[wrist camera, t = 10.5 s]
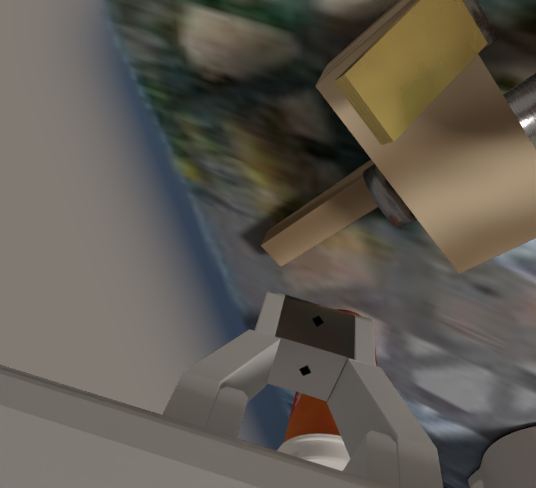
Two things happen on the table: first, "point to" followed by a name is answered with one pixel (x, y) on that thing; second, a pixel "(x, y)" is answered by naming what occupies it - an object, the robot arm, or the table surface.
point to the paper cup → (315, 432)
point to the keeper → (414, 63)
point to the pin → (390, 203)
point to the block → (430, 168)
